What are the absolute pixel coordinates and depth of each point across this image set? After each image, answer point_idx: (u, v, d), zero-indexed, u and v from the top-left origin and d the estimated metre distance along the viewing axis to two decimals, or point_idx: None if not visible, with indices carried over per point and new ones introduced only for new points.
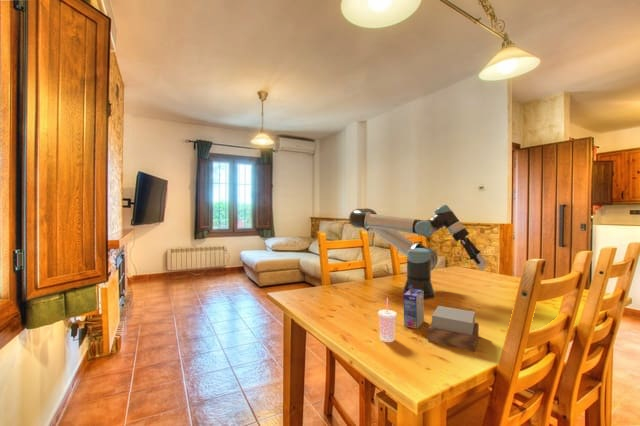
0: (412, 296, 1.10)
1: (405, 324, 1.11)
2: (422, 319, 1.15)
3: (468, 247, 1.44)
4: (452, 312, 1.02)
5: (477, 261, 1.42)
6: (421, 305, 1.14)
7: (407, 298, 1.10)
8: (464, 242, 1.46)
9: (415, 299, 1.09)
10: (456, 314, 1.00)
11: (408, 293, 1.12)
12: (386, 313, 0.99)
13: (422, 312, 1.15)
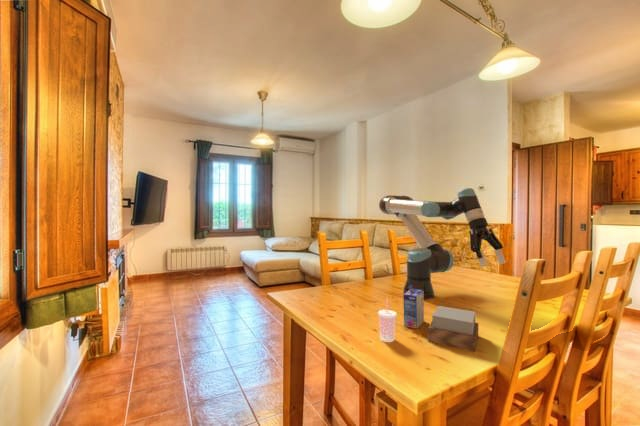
0: (412, 296, 1.10)
1: (405, 324, 1.11)
2: (422, 319, 1.15)
3: (473, 238, 1.30)
4: (453, 312, 1.02)
5: (478, 255, 1.28)
6: (421, 305, 1.14)
7: (407, 298, 1.10)
8: (472, 232, 1.32)
9: (415, 299, 1.09)
10: (457, 314, 1.00)
11: (408, 293, 1.12)
12: (386, 313, 0.99)
13: (422, 312, 1.15)
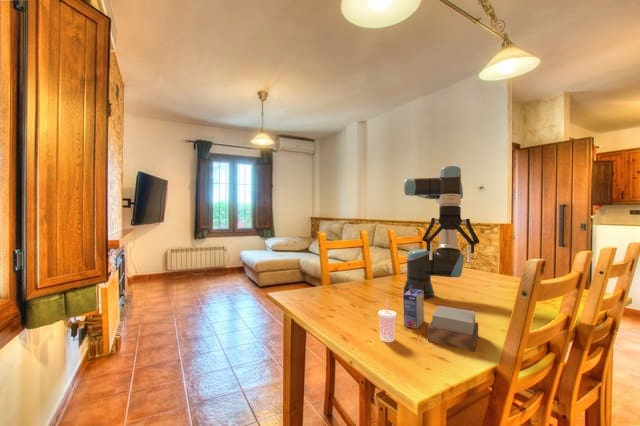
0: (412, 296, 1.10)
1: (405, 324, 1.11)
2: (422, 319, 1.15)
3: (428, 228, 1.16)
4: (453, 312, 1.02)
5: None
6: (421, 305, 1.14)
7: (407, 298, 1.10)
8: (431, 221, 1.16)
9: (415, 299, 1.09)
10: (457, 314, 1.00)
11: (408, 293, 1.12)
12: (386, 313, 0.99)
13: (422, 312, 1.15)
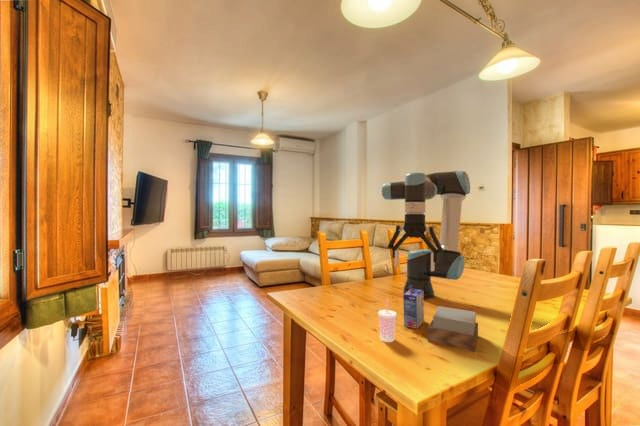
0: (412, 296, 1.10)
1: (405, 324, 1.11)
2: (422, 319, 1.15)
3: None
4: (453, 312, 1.02)
5: None
6: (421, 305, 1.14)
7: (407, 298, 1.10)
8: None
9: (415, 299, 1.09)
10: (458, 315, 0.99)
11: (408, 293, 1.12)
12: (386, 313, 0.99)
13: (422, 312, 1.15)
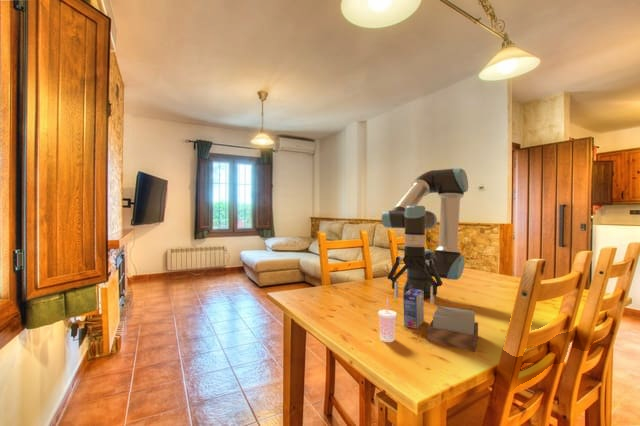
0: (412, 296, 1.10)
1: (405, 324, 1.11)
2: (422, 319, 1.15)
3: (393, 267, 1.18)
4: (453, 312, 1.02)
5: None
6: (421, 305, 1.14)
7: (407, 298, 1.10)
8: None
9: (415, 299, 1.09)
10: (457, 314, 1.00)
11: (408, 293, 1.12)
12: (386, 313, 0.99)
13: (422, 312, 1.15)
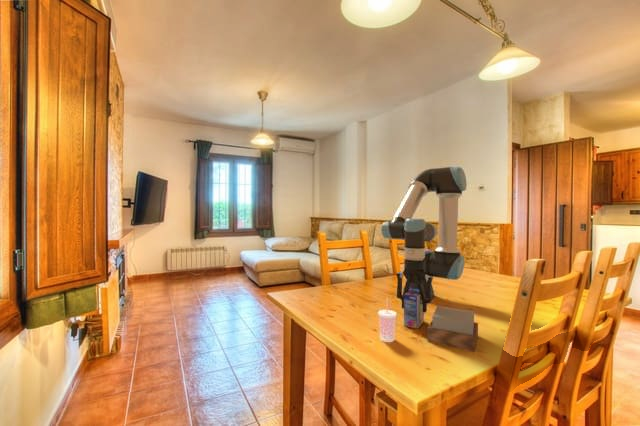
0: (413, 296, 1.09)
1: (405, 324, 1.11)
2: None
3: None
4: (452, 312, 1.02)
5: (402, 304, 1.16)
6: None
7: (408, 298, 1.10)
8: None
9: (416, 299, 1.09)
10: (456, 315, 1.00)
11: (409, 293, 1.12)
12: (386, 313, 0.99)
13: None
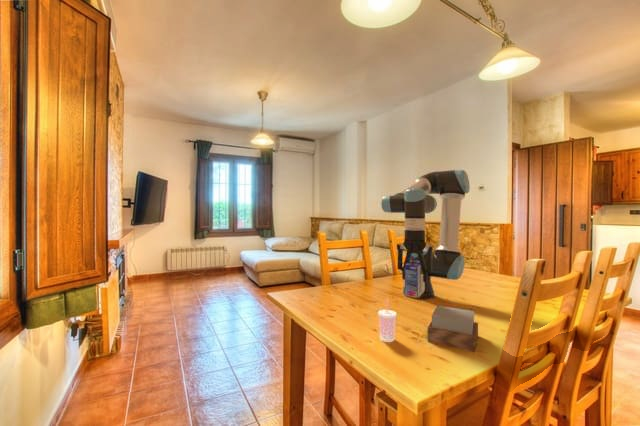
0: (413, 266, 1.09)
1: (406, 294, 1.11)
2: None
3: None
4: (452, 311, 1.02)
5: None
6: None
7: (409, 268, 1.10)
8: None
9: (416, 269, 1.09)
10: (456, 314, 1.00)
11: (409, 263, 1.12)
12: (386, 313, 0.99)
13: None
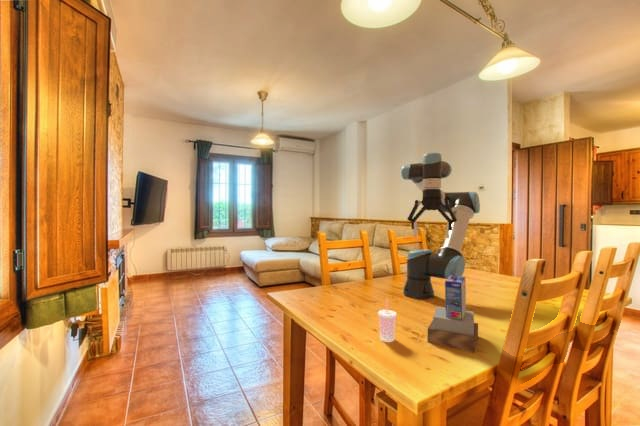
0: (456, 283, 0.96)
1: (447, 315, 0.97)
2: (465, 309, 1.01)
3: None
4: None
5: (412, 226, 1.34)
6: (464, 293, 1.00)
7: (450, 285, 0.96)
8: None
9: (460, 286, 0.95)
10: None
11: (450, 280, 0.98)
12: (386, 313, 0.99)
13: (465, 301, 1.01)
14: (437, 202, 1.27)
